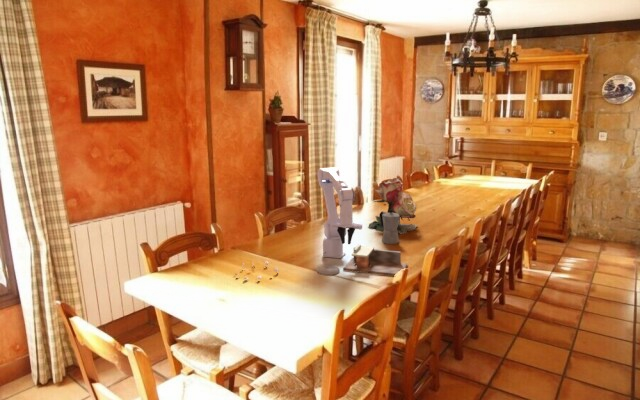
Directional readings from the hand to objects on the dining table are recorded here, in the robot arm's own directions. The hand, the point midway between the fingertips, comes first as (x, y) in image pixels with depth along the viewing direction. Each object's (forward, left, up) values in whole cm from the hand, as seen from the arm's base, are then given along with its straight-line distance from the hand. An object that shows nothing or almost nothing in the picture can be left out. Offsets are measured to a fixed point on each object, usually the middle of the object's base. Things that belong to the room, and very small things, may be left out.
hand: (346, 243), depth 210 cm
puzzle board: (+14, 0, -10) cm, 17 cm away
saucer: (-5, -10, -10) cm, 16 cm away
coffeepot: (+11, +44, -11) cm, 46 cm away
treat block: (+8, 0, -11) cm, 13 cm away
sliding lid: (+8, +1, -4) cm, 9 cm away
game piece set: (-34, -23, -11) cm, 43 cm away
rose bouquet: (+9, +74, -11) cm, 75 cm away
